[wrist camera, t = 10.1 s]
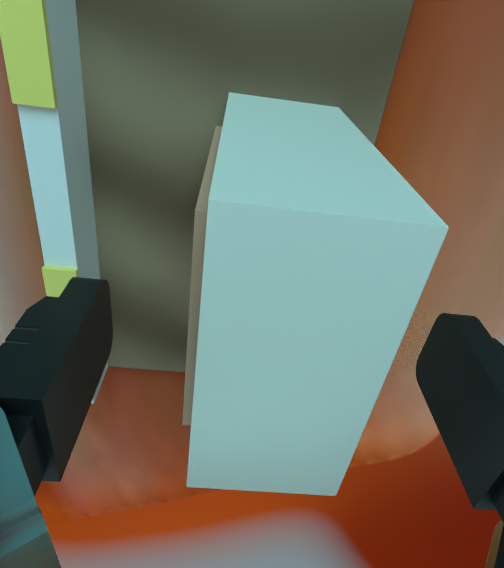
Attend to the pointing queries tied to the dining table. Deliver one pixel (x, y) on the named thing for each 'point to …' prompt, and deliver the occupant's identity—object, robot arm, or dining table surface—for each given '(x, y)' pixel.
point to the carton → (295, 295)
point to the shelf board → (202, 126)
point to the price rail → (53, 134)
